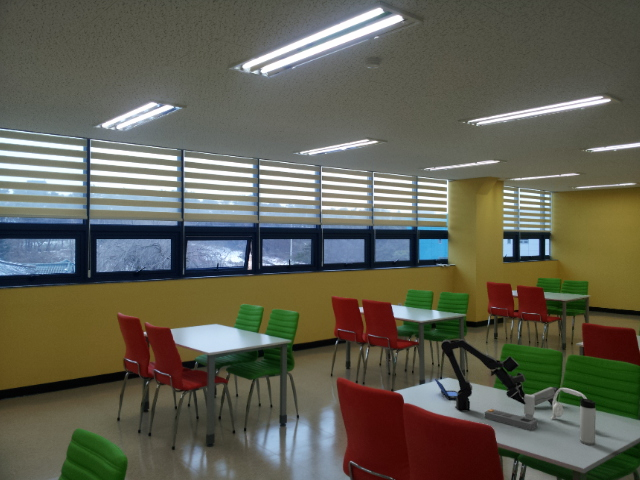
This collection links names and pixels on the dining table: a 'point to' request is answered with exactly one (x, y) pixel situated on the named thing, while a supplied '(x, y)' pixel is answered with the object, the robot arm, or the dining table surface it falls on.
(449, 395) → the handheld game console
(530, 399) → the plain gray block
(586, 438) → the travel mug
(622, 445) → the dining table surface
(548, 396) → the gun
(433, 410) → the dining table surface
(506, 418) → the power strip
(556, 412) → the headset
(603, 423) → the dining table surface
